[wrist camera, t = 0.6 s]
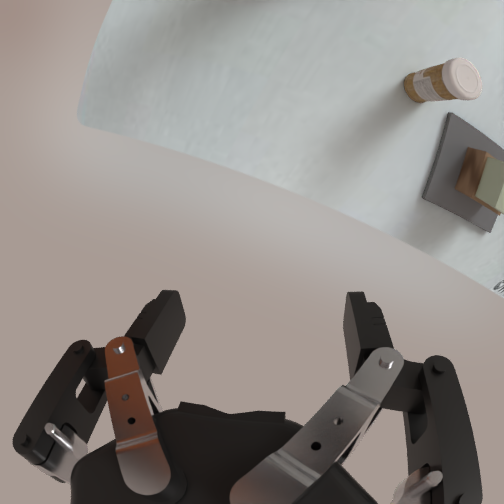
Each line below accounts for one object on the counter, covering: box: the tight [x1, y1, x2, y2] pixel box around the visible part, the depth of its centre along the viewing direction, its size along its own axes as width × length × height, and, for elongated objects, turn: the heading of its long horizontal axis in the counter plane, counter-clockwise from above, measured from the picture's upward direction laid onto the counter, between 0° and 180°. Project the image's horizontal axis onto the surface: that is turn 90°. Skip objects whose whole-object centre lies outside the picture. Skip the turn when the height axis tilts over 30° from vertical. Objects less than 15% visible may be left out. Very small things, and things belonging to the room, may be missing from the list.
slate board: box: [422, 113, 504, 233], centre depth 31 cm, size 14×16×1 cm
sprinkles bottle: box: [404, 58, 482, 103], centre depth 22 cm, size 5×4×14 cm
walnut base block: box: [455, 147, 501, 216], centre depth 28 cm, size 7×7×5 cm
